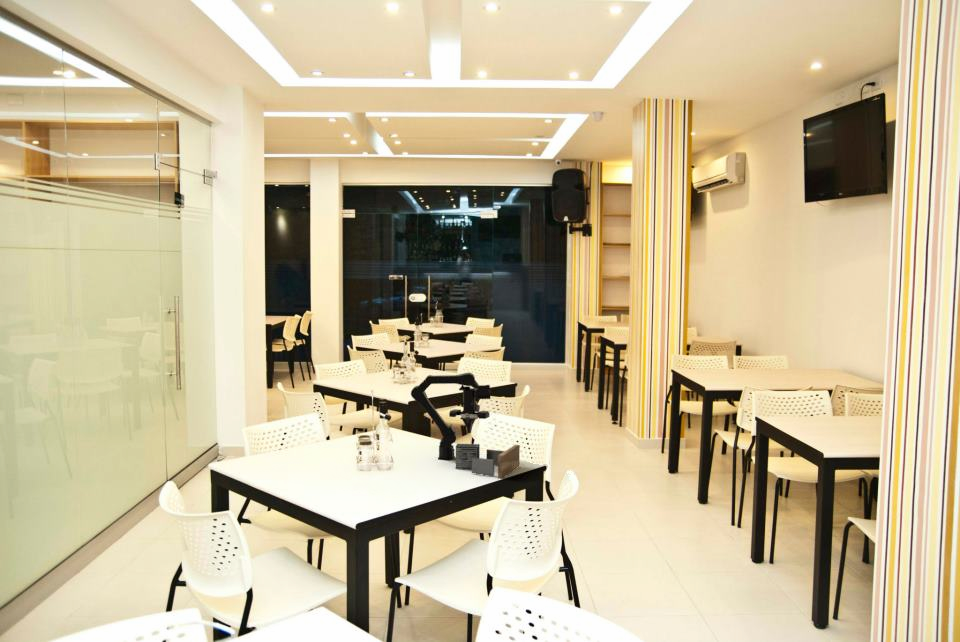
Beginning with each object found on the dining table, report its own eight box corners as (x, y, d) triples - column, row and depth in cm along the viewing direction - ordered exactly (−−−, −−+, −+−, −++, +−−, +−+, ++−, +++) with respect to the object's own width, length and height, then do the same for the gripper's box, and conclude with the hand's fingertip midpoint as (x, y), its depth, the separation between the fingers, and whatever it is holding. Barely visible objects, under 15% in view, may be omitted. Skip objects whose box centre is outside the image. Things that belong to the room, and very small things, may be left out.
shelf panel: (497, 478, 299) (498, 455, 298) (515, 466, 319) (515, 444, 319) (502, 478, 298) (502, 455, 297) (519, 466, 318) (519, 445, 318)
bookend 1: (471, 473, 305) (472, 458, 305) (472, 473, 307) (473, 457, 306) (493, 476, 302) (493, 460, 301) (494, 475, 303) (494, 459, 302)
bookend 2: (486, 464, 321) (486, 449, 321) (487, 464, 322) (487, 449, 322) (506, 467, 317) (506, 452, 317) (507, 466, 318) (507, 451, 318)
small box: (479, 466, 319) (480, 443, 318) (478, 469, 312) (478, 446, 312) (457, 465, 320) (457, 442, 319) (455, 469, 313) (455, 446, 313)
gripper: (493, 397, 335) (493, 429, 336) (457, 396, 342) (458, 427, 343) (485, 401, 325) (485, 434, 325) (448, 399, 331) (449, 432, 332)
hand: (469, 431), depth 332 cm, fingers closed
